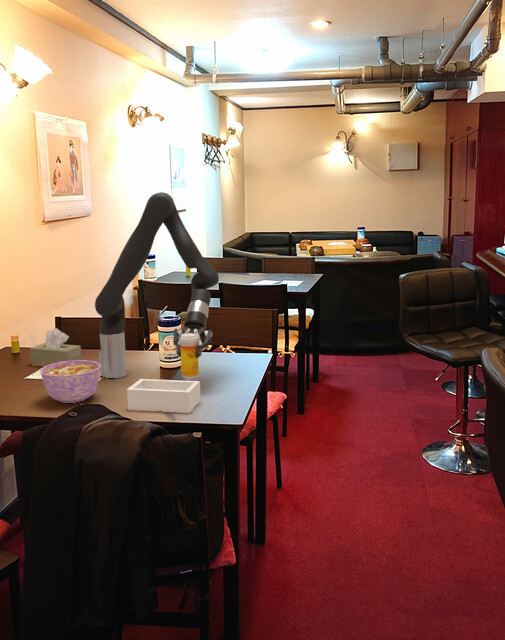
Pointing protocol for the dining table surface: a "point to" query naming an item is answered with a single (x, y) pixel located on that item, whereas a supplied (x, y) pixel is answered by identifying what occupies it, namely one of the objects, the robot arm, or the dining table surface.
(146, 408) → the white rectangular tray
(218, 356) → the dining table surface
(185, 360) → the beer can
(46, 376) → the bowl of food
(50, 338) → the tissue box
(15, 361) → the dining table surface
